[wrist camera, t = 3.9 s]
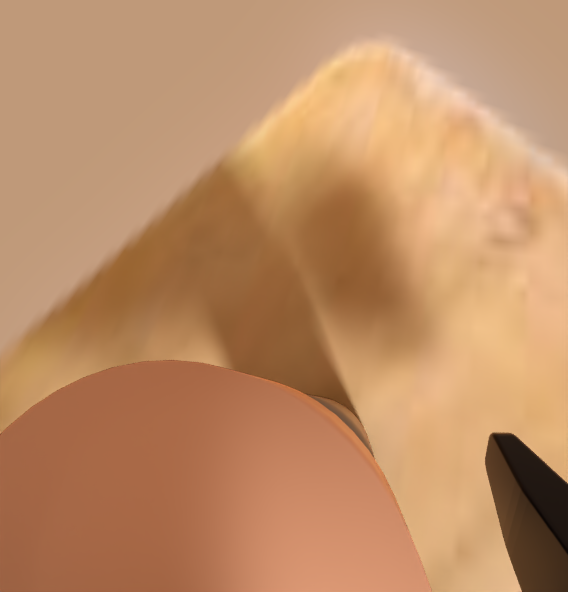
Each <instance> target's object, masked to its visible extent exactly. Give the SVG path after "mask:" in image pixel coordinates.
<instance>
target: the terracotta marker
mask: <svg viewBox="0 0 568 592" xmlns="http://www.w3.org/2000/svg"><path fill="white" fill-rule="evenodd" d="M0 592H432V591H431V588H430V585H429V582H428V579H427V576H426V574H425V571H424V568H423V565H422V562H421V560H420V557H419V555H418V552H417V550H416V547H415V545H414V542H413V540H412V538H411V535H410V533H409V530H408V528H407V525H406V523H405V520H404V518H403V515H402V513H401V510H400V508H399V506H398V503H397V501H396V498H395V496H394V494H393V492H392V490H391V488H390V486H389V484H388V482H387V480H386V477H385V475H384V473H383V472H382V470H381V469H380V467H379V465H378V464H377V462H376V461H375V458H374V455H373V452H372V449H371V445H370V442H369V439H368V436H367V434H366V432H365V430H364V427H363V426H362V424H361V423H360V421H359V420H358V419H357V417H356V416H355V415H354V414H353V413H352V412H351V411H350V410H349V409H347V408H346V407H345V406H343V405H342V404H340V403H338V402H336V401H333V400H331V399H327V398H323V397H318V396H313V395H308V394H304V393H302V392H300V391H298V390H296V389H294V388H291V387H288V386H286V385H283V384H281V383H278V382H275V381H271V380H267V379H264V378H260V377H257V376H253V375H249V374H246V373H242V372H238V371H235V370H231V369H226V368H222V367H218V366H214V365H209V364H205V363H199V362H188V361H177V360H163V361H145V362H138V363H132V364H127V365H122V366H117V367H112V368H109V369H106V370H103V371H101V372H98V373H95V374H92V375H89V376H86V377H83V378H81V379H79V380H77V381H75V382H73V383H71V384H69V385H67V386H65V387H63V388H61V389H59V390H57V391H55V392H54V393H52V394H51V395H49V396H48V397H46V398H45V399H43V400H42V401H40V402H39V403H37V404H36V405H34V406H33V407H31V408H30V409H29V410H27V411H26V412H25V413H24V414H23V415H21V416H20V417H19V418H18V419H17V420H15V421H14V422H13V423H12V424H11V425H9V426H8V427H7V428H6V429H5V430H4V431H3V432H2V433H1V434H0Z"/></svg>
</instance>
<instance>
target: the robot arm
mask: <svg viewBox="0 0 568 592" xmlns="http://www.w3.org/2000/svg"><path fill="white" fill-rule="evenodd" d="M485 465H486V471H487V475H488V479H489V483H490V487H491V491H492V494H493V498H494V502H495V506H496V510H497V514H498V518H499V522H500V526H501V530H502V534H503V538H504V541H505V545H506V548H507V551H508V554H509V557H510V560H511V563H512V565H513V568H514V571H515V574H516V576H517V579H518V582H519V584H520V587H521V590H522V592H568V483H567V482H565V481H564V480H563V479H562V478H561V477H560V476H559V475H558V474H557V473H556V472H555V471H553V470H552V469H551V468H550V467H549V466H548V465H547V464H546V463H545V462H544V461H543V460H541V459H540V458H539V457H538V456H537V455H536V454H535V453H534V452H533V451H532V450H531V449H530V448H528V447H527V446H526V445H525V444H524V443H523V442H522V441H521V440H520V439H519V438H518V437H516V436H515V435H514V434H512V433H492V434H491V435H490V436H489V441H488V446H487V451H486V457H485Z"/></svg>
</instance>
